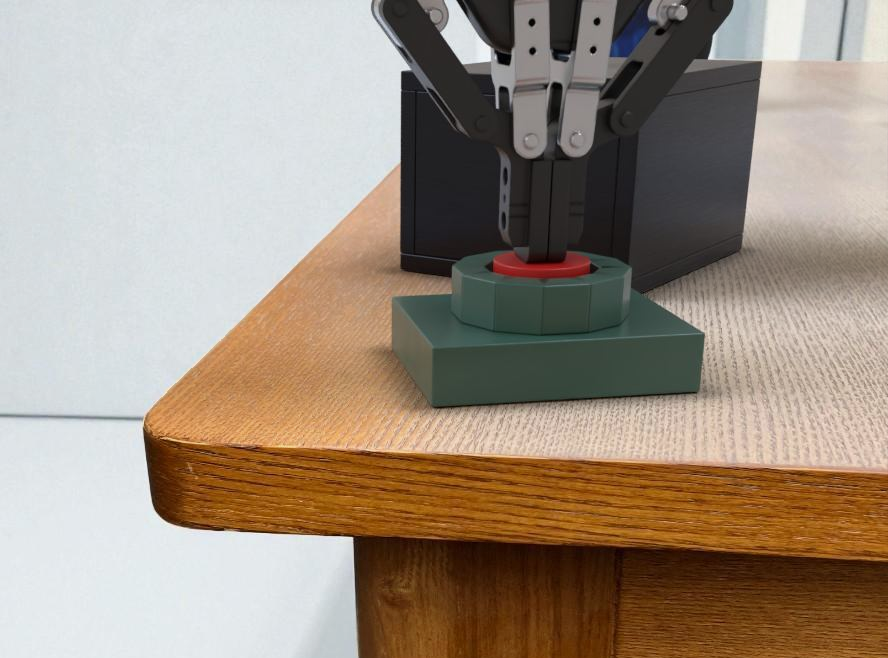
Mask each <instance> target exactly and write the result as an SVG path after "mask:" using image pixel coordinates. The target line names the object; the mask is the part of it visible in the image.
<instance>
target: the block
mask: <svg viewBox="0 0 888 658" xmlns="http://www.w3.org/2000/svg"><path fill="white" fill-rule="evenodd" d="M508 252H514V250H510V251H494V252H489V253H483V254H478V255H472V256H467V257H464V258H463V259H461V260H460V261H458V262H457V263H455V264H454V265H452V277H451V293H441V294H440V293H439V294H417V295H414V294H413V295H397V296H392V297H391V350H392V351H393V353H394V354H395V356H396V357H397V359H398V360H399V361H400V363H401V364H402V366H403V367H404V369H405V370H406V371H407V374H408V375H409V376H410V378H411V379H412V380H413V381H414V383H415V385H416V386H417V387H418V389H419V390H420V392H421V393H422V394H423V396H424V398H425V399H426V400H427V402H428V403H429V405H430V406H431V407H432V408H439V407H459V406H475V405H490V404H491V405H493V404H510V403H524V402H525V403H526V402H527V403H529V402H544V401H559V400H576V399H577V400H579V399H596V398H597V399H598V398H611V397H628V396H629V397H630V396H631V397H632V396H646V395H647V396H648V395H663V394H664V395H665V394H681V393H698V392H699V391H700V389H701V380H702V371H703V361H704V360H703V359H704V352H705V342H706V340H705V338H706V333H705V332H703V331H702V330H700V329H699V328H698V327H696V326H694V325H692V324H690V322H687V321H686V320H684V319H682V318H681V317H679V316H678V315H676V314H674V313H673V312H672V311H669V310H668V309H666V308H665V307H663V306H662V305H660V304H658V303H657V302H655V301H654V300H651V299H650V298H649V297H647V296H645V295H644V294H643V293H641V294H640V293H639V292H637V291H636V290H634V289H632V288H631V277H632V267H630V266H628V265H627V264H625V263H623V262H621V261H620V260H618V259H616V258H611V257H605V256H600V255H595V254H590V253H585V252H577V251H567V252H570V253H576V254H580V255H583V256H585V257H587V258H589V259H590V274H587V275H582V276H578V277H572V278H550V279H541V278H527V277H512V276H507V275H503V274H498V273H494V272H493V260H494V258H495V257H496V256H498V255H500V254H504V253H508Z"/></svg>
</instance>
